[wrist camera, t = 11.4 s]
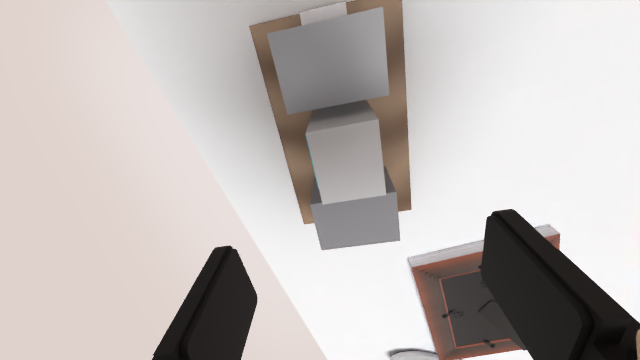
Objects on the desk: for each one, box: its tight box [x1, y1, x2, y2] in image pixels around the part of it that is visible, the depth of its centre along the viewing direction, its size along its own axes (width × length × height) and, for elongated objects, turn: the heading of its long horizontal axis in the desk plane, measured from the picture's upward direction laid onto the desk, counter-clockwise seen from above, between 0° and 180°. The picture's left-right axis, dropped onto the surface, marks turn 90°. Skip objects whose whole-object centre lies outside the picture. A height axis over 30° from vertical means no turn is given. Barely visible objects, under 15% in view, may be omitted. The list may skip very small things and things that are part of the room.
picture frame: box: [408, 225, 560, 360], centre depth 36 cm, size 16×2×22 cm
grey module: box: [305, 100, 386, 205], centre depth 21 cm, size 6×5×7 cm
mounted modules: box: [267, 7, 400, 250], centre depth 22 cm, size 18×7×5 cm, turn 11°
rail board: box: [249, 0, 411, 224], centre depth 25 cm, size 20×12×2 cm, turn 11°
